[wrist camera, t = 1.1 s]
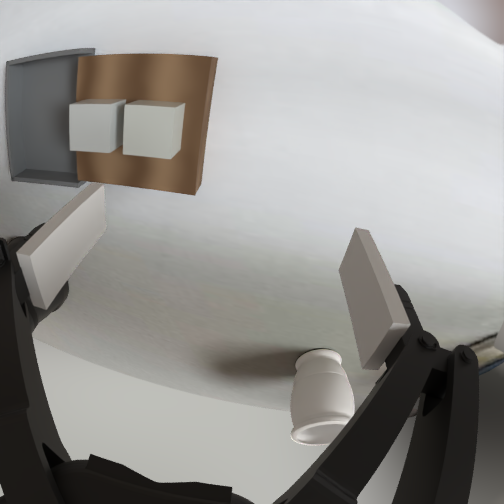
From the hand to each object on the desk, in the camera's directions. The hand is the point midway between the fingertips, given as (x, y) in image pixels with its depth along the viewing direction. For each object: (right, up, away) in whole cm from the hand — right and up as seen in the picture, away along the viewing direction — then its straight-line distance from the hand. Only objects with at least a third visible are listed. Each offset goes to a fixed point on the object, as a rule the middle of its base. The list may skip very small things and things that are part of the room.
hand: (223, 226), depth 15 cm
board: (-11, +14, +16) cm, 24 cm away
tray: (-24, +16, +16) cm, 33 cm away
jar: (+14, -21, +38) cm, 46 cm away
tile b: (-8, +12, +14) cm, 20 cm away
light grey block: (-14, +13, +13) cm, 23 cm away
